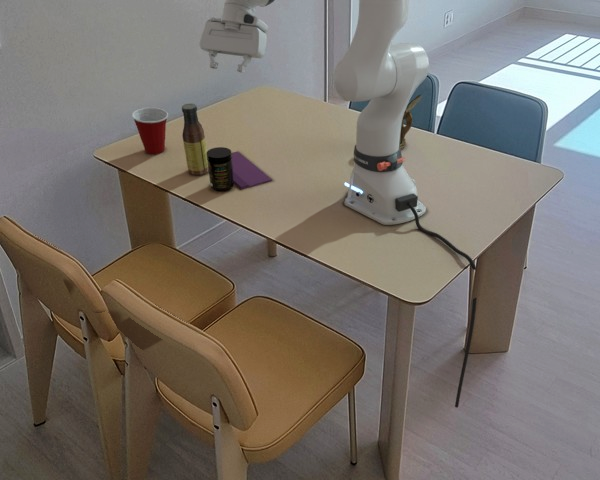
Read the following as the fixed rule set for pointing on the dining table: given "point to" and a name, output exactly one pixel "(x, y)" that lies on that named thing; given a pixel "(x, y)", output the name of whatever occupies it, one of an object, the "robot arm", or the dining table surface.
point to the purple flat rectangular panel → (246, 172)
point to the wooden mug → (408, 119)
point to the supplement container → (220, 169)
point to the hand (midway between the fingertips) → (226, 70)
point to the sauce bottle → (194, 141)
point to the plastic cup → (151, 128)
